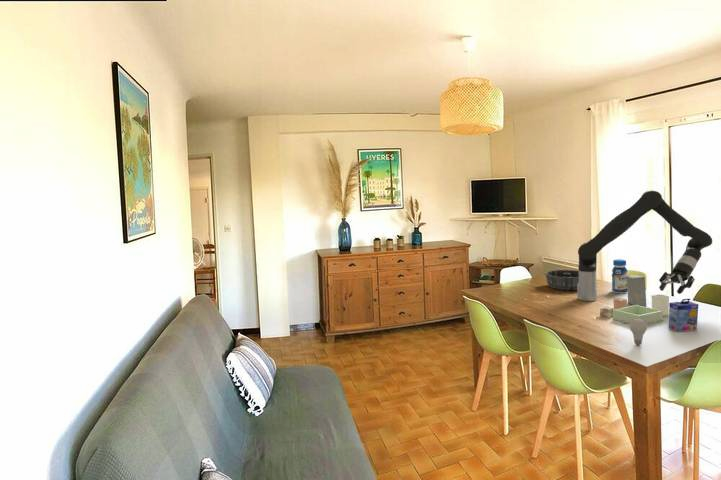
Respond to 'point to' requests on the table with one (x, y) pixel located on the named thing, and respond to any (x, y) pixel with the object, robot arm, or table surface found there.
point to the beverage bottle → (619, 276)
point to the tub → (638, 314)
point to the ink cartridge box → (683, 316)
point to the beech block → (606, 312)
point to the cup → (661, 303)
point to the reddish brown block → (620, 303)
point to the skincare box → (636, 290)
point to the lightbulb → (638, 330)
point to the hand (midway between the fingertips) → (669, 291)
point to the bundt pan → (563, 279)
